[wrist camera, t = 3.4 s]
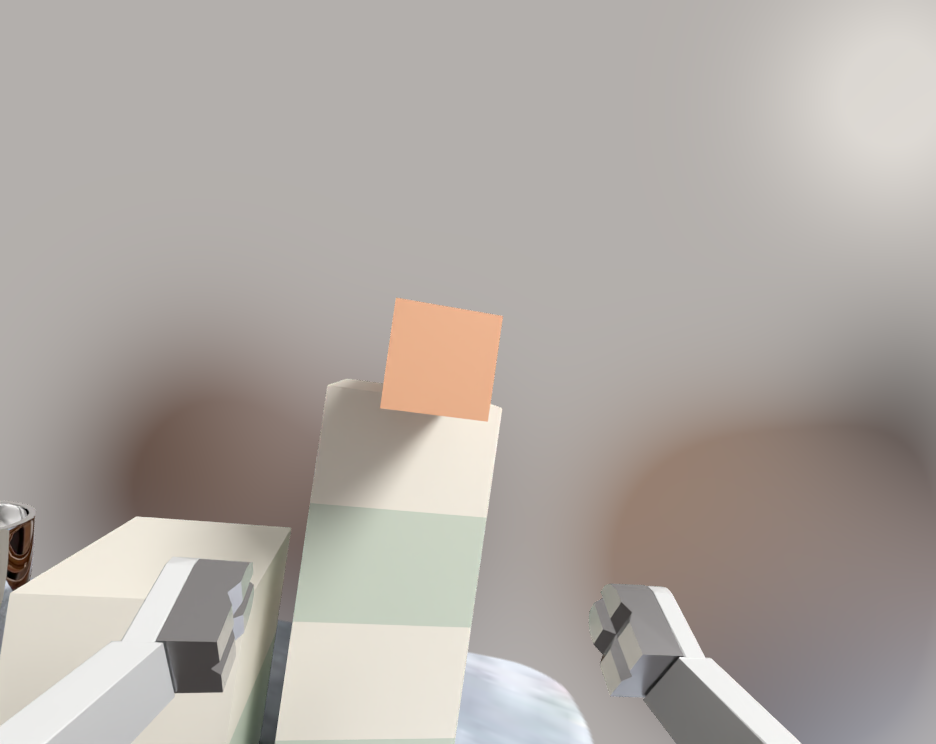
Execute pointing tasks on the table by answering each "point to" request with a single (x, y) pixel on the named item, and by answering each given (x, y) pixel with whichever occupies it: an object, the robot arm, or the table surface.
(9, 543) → the beer glass
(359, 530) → the tall tower
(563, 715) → the table surface
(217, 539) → the short tower
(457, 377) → the long brick
